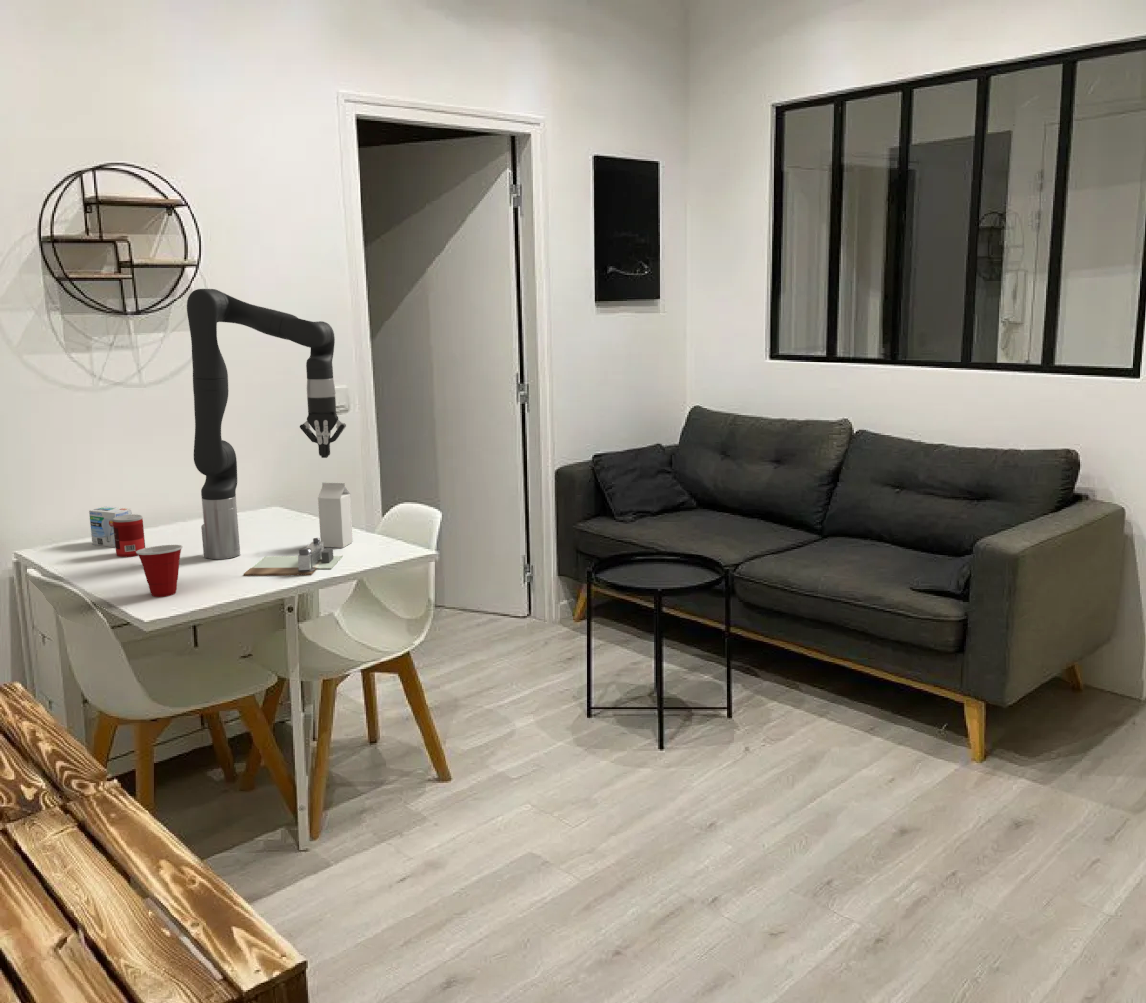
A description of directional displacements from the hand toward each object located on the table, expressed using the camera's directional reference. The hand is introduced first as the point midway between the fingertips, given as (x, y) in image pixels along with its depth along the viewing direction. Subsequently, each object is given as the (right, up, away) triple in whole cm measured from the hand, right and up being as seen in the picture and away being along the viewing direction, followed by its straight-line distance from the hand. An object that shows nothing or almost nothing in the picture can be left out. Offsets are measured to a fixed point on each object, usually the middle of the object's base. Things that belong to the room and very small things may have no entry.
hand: (324, 457), depth 279 cm
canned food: (-60, -28, +13) cm, 67 cm away
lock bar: (-3, -29, -3) cm, 29 cm away
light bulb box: (-71, -25, +26) cm, 79 cm away
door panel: (-8, -30, 0) cm, 31 cm away
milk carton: (-2, -26, +22) cm, 33 cm away
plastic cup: (-34, -36, -27) cm, 56 cm away
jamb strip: (-10, -31, -9) cm, 34 cm away
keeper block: (0, -29, +1) cm, 29 cm away
